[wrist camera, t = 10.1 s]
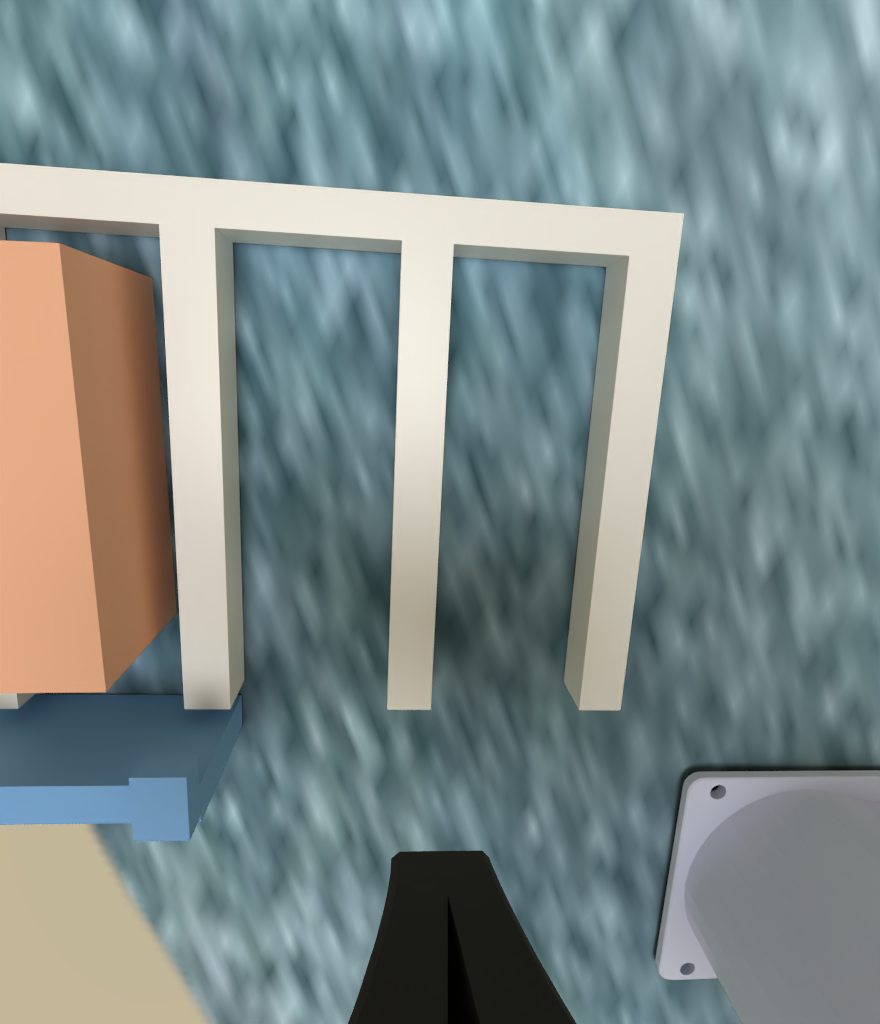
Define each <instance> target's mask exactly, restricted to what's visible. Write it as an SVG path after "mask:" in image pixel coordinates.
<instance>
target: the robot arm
mask: <svg viewBox="0 0 880 1024" xmlns="http://www.w3.org/2000/svg"><path fill="white" fill-rule="evenodd" d="M717 785H719V787H718V788H717V789H716V790H713V791H711V790H712V788H713V787H715V786H717ZM655 964H656V967H657V969H658V971H659V973H660V975H661V976H662V977H663V978H665V979H669V980H684V979H711V978H718V980H719V981H720V983H721V985H722V987H723V989H724V991H725V993H726V994H727V996H728V998H729V1000H730V1002H731V1004H732V1006H733V1008H734V1009H735V1011H736V1013H737V1015H738V1017H739V1019H740V1021H741V1023H742V1024H880V770H862V771H708V772H695V773H693V774H691V775H689V776H688V777H687V778H686V779H685V781H684V784H683V788H682V795H681V801H680V807H679V813H678V820H677V826H676V832H675V839H674V845H673V851H672V858H671V864H670V870H669V877H668V883H667V889H666V895H665V902H664V908H663V914H662V921H661V927H660V933H659V940H658V946H657V952H656V959H655ZM348 1024H576V1022H575V1020H574V1019H573V1017H572V1016H571V1014H570V1012H569V1011H568V1009H567V1007H566V1006H565V1004H564V1002H563V1001H562V999H561V997H560V995H559V994H558V992H557V990H556V988H555V987H554V985H553V983H552V982H551V980H550V978H549V976H548V975H547V973H546V971H545V969H544V968H543V966H542V964H541V962H540V961H539V959H538V957H537V955H536V954H535V952H534V950H533V948H532V946H531V944H530V943H529V941H528V939H527V937H526V935H525V933H524V931H523V929H522V927H521V925H520V923H519V922H518V920H517V918H516V916H515V914H514V912H513V910H512V908H511V906H510V904H509V902H508V900H507V898H506V895H505V893H504V891H503V889H502V887H501V885H500V883H499V880H498V878H497V876H496V873H495V871H494V869H493V866H492V864H491V861H490V859H489V857H488V856H487V855H486V854H485V853H484V852H483V851H422V852H399V853H398V854H396V855H395V856H394V857H393V858H392V859H391V874H390V881H389V887H388V893H387V898H386V902H385V907H384V911H383V915H382V919H381V923H380V927H379V930H378V934H377V938H376V942H375V945H374V948H373V951H372V954H371V957H370V961H369V964H368V967H367V970H366V973H365V976H364V980H363V983H362V986H361V989H360V992H359V995H358V998H357V1001H356V1004H355V1007H354V1009H353V1012H352V1015H351V1017H350V1020H349V1023H348Z"/></svg>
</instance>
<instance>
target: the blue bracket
mask: <svg viewBox="0 0 880 1024" xmlns="http://www.w3.org/2000/svg"><path fill="white" fill-rule="evenodd" d="M241 727H242V695H237V697H236V699H235V701H234V703H233V705H232V707H231V709H184V695H97V694H34V695H33V696H32V697H31V698H30V699H29V700H28V701H27V702H26V703H24V704H23V705H22V706H21V707H20V708H19V709H0V825H13V824H92V823H132V827H133V840H134V841H190V839H191V836H192V834H193V832H194V829H195V827H196V825H197V823H198V822H201V821H202V819H203V817H204V814H205V812H206V810H207V807H208V805H209V803H210V800H211V798H212V796H213V793H214V791H215V789H216V786H217V784H218V781H219V779H220V777H221V774H222V772H223V770H224V767H225V765H226V763H227V760H228V758H229V756H230V753H231V751H232V749H233V746H234V744H235V742H236V739H237V737H238V734H239V732H240V730H241Z"/></svg>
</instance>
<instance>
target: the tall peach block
mask: <svg viewBox="0 0 880 1024" xmlns="http://www.w3.org/2000/svg"><path fill="white" fill-rule="evenodd" d="M176 614H177V609H176V595H175V581H174V567H173V554H172V540H171V526H170V512H169V499H168V485H167V471H166V457H165V443H164V430H163V416H162V402H161V388H160V374H159V361H158V347H157V333H156V319H155V305H154V292H153V278H150V277H147V276H145V275H142V274H140V273H137V272H134V271H132V270H129V269H126V268H124V267H121V266H118V265H116V264H113V263H110V262H108V261H105V260H103V259H100V258H97V257H95V256H92V255H89V254H87V253H84V252H81V251H79V250H76V249H74V248H71V247H68V246H66V245H63V244H60V243H47V242H26V241H4V240H0V693H91V692H107V691H108V690H109V688H110V687H111V686H112V685H113V684H114V683H115V682H116V681H117V680H118V678H119V677H120V676H121V675H122V674H123V673H124V672H125V671H126V669H127V668H128V667H129V666H130V665H131V664H132V663H133V662H134V661H135V659H136V658H137V657H138V656H139V655H140V654H141V653H142V652H143V650H144V649H145V648H146V647H147V646H148V645H149V644H150V643H151V642H152V640H153V639H154V638H155V637H156V636H157V635H158V634H159V633H160V632H161V630H162V629H163V628H164V627H165V626H166V625H167V624H168V623H169V621H170V620H171V619H172V618H173V617H174V616H175V615H176Z"/></svg>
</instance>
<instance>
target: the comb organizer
mask: <svg viewBox="0 0 880 1024" xmlns="http://www.w3.org/2000/svg"><path fill="white" fill-rule="evenodd" d="M683 217H684V214H681V213H668V212H654V211H641V210H627V209H614V208H600V207H587V206H573V205H560V204H546V203H533V202H519V201H506V200H492V199H479V198H465V197H452V196H438V195H425V194H411V193H398V192H384V191H371V190H357V189H344V188H330V187H317V186H303V185H290V184H276V183H263V182H249V181H236V180H222V179H209V178H195V177H182V176H168V175H155V174H141V173H128V172H114V171H101V170H87V169H74V168H60V167H47V166H33V165H20V164H6V163H0V240H4V241H6V236H5V227H6V228H21V229H36V230H51V231H66V232H82V233H97V234H112V235H127V236H143V237H158V238H160V252H161V271H162V291H163V310H164V329H165V348H166V367H167V387H168V406H169V425H170V444H171V463H172V483H173V502H174V521H175V540H176V559H177V579H178V598H179V617H180V636H181V655H182V675H183V694H184V709H231V707H232V705H233V703H234V701H235V699H236V697H237V694H238V692H239V690H240V688H241V686H242V684H243V682H244V680H245V677H244V639H243V602H242V565H241V528H240V491H239V454H238V416H237V379H236V342H235V305H234V268H233V242H234V243H249V244H265V245H280V246H295V247H310V248H325V249H341V250H356V251H371V252H386V253H401V272H400V304H399V336H398V367H397V399H396V431H395V463H394V495H393V526H392V558H391V590H390V622H389V654H388V689H387V710H431V694H432V673H433V653H434V633H435V613H436V593H437V573H438V552H439V532H440V512H441V492H442V472H443V451H444V431H445V411H446V391H447V371H448V351H449V330H450V310H451V290H452V270H453V257H463V258H478V259H493V260H508V261H523V262H539V263H554V264H569V265H584V266H600V267H606V276H605V286H604V296H603V305H602V315H601V325H600V334H599V344H598V354H597V363H596V373H595V383H594V392H593V402H592V412H591V422H590V431H589V441H588V451H587V460H586V470H585V480H584V489H583V499H582V509H581V518H580V528H579V538H578V547H577V557H576V567H575V577H574V586H573V596H572V606H571V615H570V625H569V635H568V644H567V654H566V664H565V673H564V683H565V685H566V687H567V689H568V691H569V693H570V694H571V696H572V698H573V700H574V702H575V703H576V705H577V707H578V709H579V710H621V702H622V694H623V686H624V679H625V671H626V663H627V655H628V647H629V640H630V632H631V624H632V616H633V608H634V600H635V593H636V585H637V577H638V569H639V561H640V553H641V546H642V538H643V530H644V522H645V514H646V507H647V499H648V491H649V483H650V475H651V467H652V460H653V452H654V444H655V436H656V428H657V421H658V413H659V405H660V397H661V389H662V381H663V374H664V366H665V358H666V350H667V342H668V335H669V327H670V319H671V311H672V303H673V295H674V288H675V280H676V272H677V264H678V256H679V248H680V241H681V233H682V225H683ZM34 694H36V693H0V709H19V708H20V707H21V706H22V705H23V704H24V703H26V702H27V701H28V700H29V699H30V698H31V697H32V696H33V695H34Z"/></svg>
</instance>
